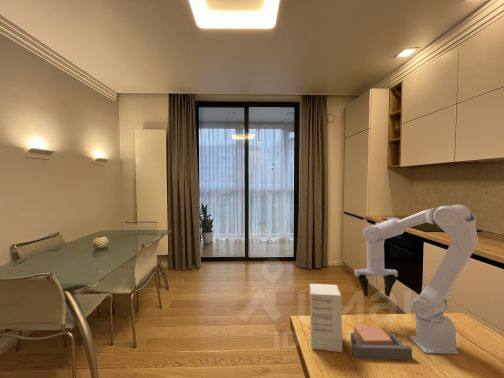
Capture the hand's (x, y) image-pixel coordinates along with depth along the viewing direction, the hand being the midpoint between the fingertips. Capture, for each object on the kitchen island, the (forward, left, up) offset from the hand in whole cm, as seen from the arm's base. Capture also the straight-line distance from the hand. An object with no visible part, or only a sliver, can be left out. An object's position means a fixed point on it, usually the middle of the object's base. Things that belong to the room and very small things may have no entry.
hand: (376, 295), depth 91 cm
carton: (+7, +14, -10) cm, 19 cm away
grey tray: (+7, +16, -9) cm, 20 cm away
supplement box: (+21, +13, -10) cm, 27 cm away
